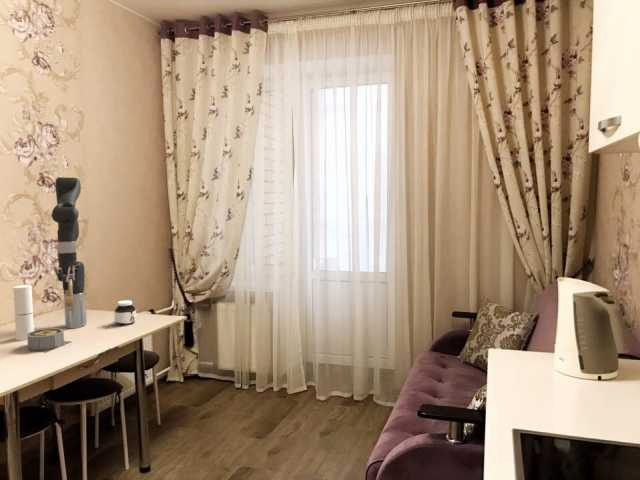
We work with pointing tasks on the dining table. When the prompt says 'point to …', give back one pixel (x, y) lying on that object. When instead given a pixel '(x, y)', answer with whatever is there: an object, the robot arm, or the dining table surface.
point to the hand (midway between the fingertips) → (68, 289)
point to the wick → (69, 296)
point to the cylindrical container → (23, 311)
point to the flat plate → (44, 350)
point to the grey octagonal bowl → (45, 339)
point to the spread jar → (125, 313)
